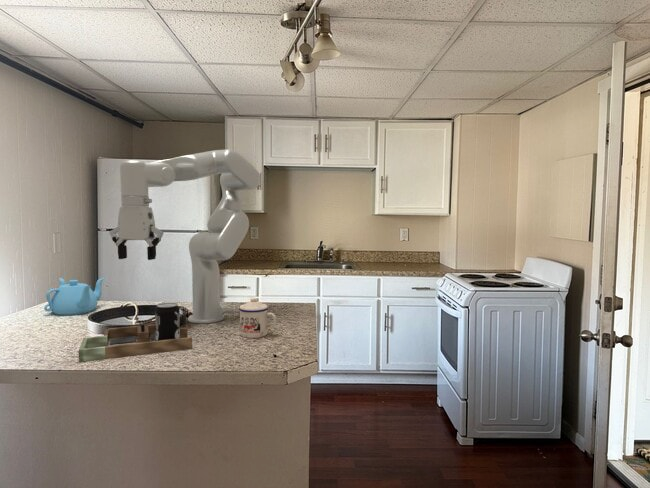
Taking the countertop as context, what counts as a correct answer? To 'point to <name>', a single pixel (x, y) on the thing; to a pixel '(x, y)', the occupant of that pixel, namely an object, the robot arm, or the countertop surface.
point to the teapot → (73, 298)
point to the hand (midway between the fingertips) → (137, 259)
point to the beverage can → (167, 321)
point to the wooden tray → (100, 350)
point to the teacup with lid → (254, 319)
